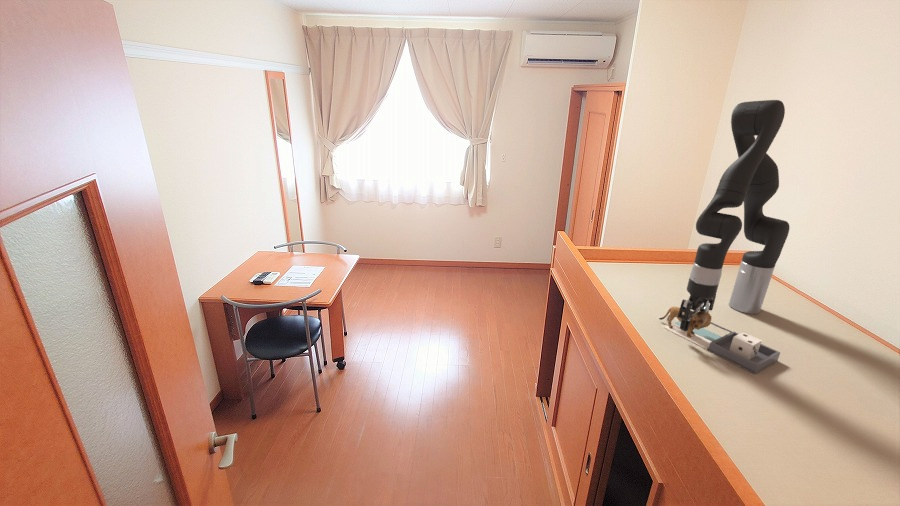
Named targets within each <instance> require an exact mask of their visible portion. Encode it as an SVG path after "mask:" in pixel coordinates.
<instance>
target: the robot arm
mask: <svg viewBox="0 0 900 506" xmlns="http://www.w3.org/2000/svg"><path fill="white" fill-rule="evenodd" d="M785 114H786V108H785V105H784V102H783V101H781V100H779V99H768V100H767V99H765V100H753V101H752V100H751V101H744V102H740V103H738V104H736V105H735V107H734V108H733V110H732V112H731V119H730V124H731V126H730V127H731V131H732V136H733V140H734V143H735V144H734V145H735V149H736V151H737V156H738V157H737V159H736V160H734V161H733V162H732V163H731V164H730V165H729V166H728V167H727V168H726V170H725V171H724V172H723V174H722V176H721V178H720V180H719V182H718V185H717V188H716V190H715V193H714V195H713V197H712V199H711V201H709V203H708V205H707V206H706V207H705V209H704V210H703V211H702V212H701V214H699V217H698V218H697V219H696V222H695V230H696V231H697V233H698V234H699V235H701V236H705V237H708V238H709V237H710V238H714V239H718V240H720V242H718V243H707V242H706V243H701V244H699V246H698V247H697V250H696V253H695V258H694V262H693V265H692V268H691V270H690V274H689V278H688V283H687V287H686V291H687V292H688V294H689V295H690V296H689V297H688V299H687V300H686V299H682V300H681V303H680V307H679V308H680V310H679V313H678V318H681V319H682V321H681V325H680V329H681V330H683V331H685V332H686V331H688V329H689V325H690V320H691V319H692V317H693V316H694V315H696V314H697V313H698V312H702V311H706V312H708V313H709V314H710V312H711V311H713V309H714V306H715V302H716V301H715V300H716V297H717V292H718V288H719V285H720V280H721V278H722V271H723V266H724V263H725V259H726V256H727V253H728V252H729V250H730V247H731V245H732V244H733V243H734V241H736V240H735V239H736V238H737V237H738V235H739V234H740V233H741V230H742V228H743V234H744V237H745V238H746V240H748V241H750V242H751V243H755V244H758V245H762V246H764V247H763V249H762V250H751V251H750V250H749V251H746V252H744V253H743V254H742V258H741V261H740V264H739V268H738V271H737V275H736V278H735V281H734V285H733V289H732V292H731V295H730V299H729V303H728V305H729V307H731V308H732V309H733V310H735V311H737V312H741V313H745V314H750V315H757V314H759V313H761V311H762V306H763V305H764V301H765V298H766V295H767V292H768V289H769V285H770V282H771V280H772V276H773V273H774V269H775V267H776V264H777V262H778V260H779V259H780V256H781V253H782V251H783V248H784V245H786V244H785V243H786V241H787V239H788V236H789V233H790V228H791V227H790V223H789V222H788V221H786V220H783V219H778V218H775V217H770V216H766V215H765V214H764V213H763V211H764V210H763V207H764V206H765V204H767V203H768V201H770V200H771V198H772V197H773V196H775V194H776V193H777V192H778V190H779V187H780V178H779V177H780V176H779V175H780V173H779V168H778V167H779V166H778V165H777V163H776V161H774V159H773V158H772V157H770V155H769V154H768V153H767V152H768V151H769V149H770V147H771V146H772V144H773V142H774V140H775V138H776V137H777V134H778V133H779V131H780V129H781V127H782V125H783V122H784V118H785ZM755 137H756V138H755ZM742 205H743V222H742V220H741V218H740V217H739V216H737V215H734V214H729V213H728V214H727V213H722V212H720V211H721V210H722V209H730V208H731V209H733V208H739V207H741V206H742ZM682 313H683V314H682ZM689 313H690V315H689Z"/></svg>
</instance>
